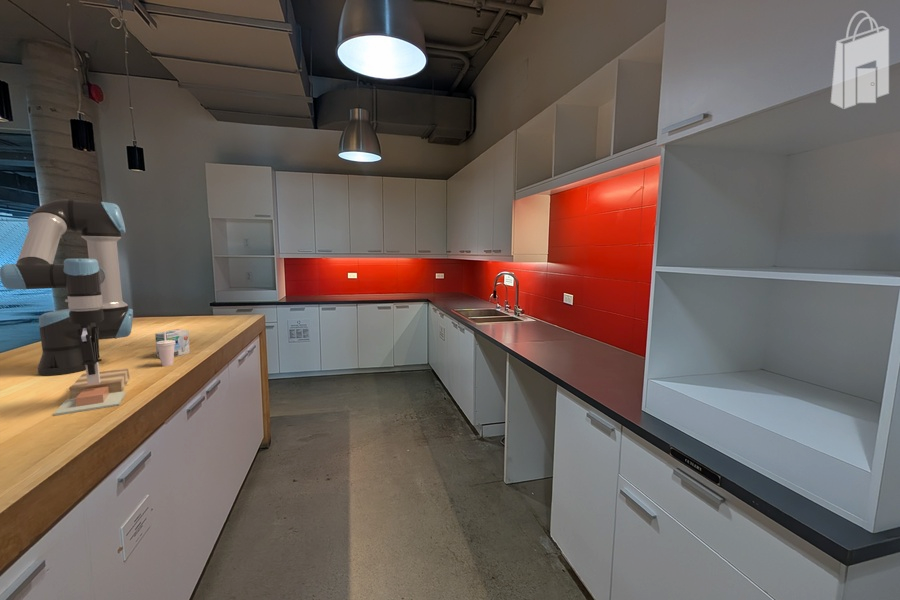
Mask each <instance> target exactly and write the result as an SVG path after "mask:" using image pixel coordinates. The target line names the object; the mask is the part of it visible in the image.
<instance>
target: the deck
mask: <svg viewBox="0 0 900 600" xmlns="http://www.w3.org/2000/svg"><path fill="white" fill-rule="evenodd" d="M99 373H100V383H99V384H92V385H88V384H87V375H86V373H82V374H81V375H80V376H79V378H77V379H76V380H75V382H73V384H72V385H71V386H70V387H69V397H70V399H73V398H76V397H77V396H78V395H79V394H80V392H81V391H82V390H86V389H93V388H101V387H108V389H109V393H115V392H122V391H125V388H126V386H127V384H128V382H129V380H130V370H129V368H120V369H112V370H103V371H99Z"/></svg>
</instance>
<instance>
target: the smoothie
mask: <svg viewBox="0 0 900 600" xmlns="http://www.w3.org/2000/svg"><path fill="white" fill-rule="evenodd" d="M163 332H164V341H159V342H156V341H155V346H157V348H158V352H159V356H160V358H159V360H160V363H161V367H169V366H173V365H174V360H175V359H174V358H175V357H174V345H175V340H166V333H165V332H166V331H163Z"/></svg>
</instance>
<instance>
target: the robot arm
mask: <svg viewBox="0 0 900 600" xmlns="http://www.w3.org/2000/svg"><path fill="white" fill-rule="evenodd" d="M121 211H122V210H121V208H120V206H119V205H117V204H116V203H114V202H106V201H94V200H93V201H91V200H77V199H65V198H64V199H55V200H52V201H48V202H46V203H44V204H42V205H40V206H38V207H37V208H35V209H34V210H33V211H32V212H30V214H29V216H28V219H27V227H28V231H27V234H26V236H25V238H24V241H23V245H22V246H21V247H22V248H21V250H20V252H19V254H18V257H17V261H16V263H9V264H3V265H1V267H0V282H1V284H2V286H3V287H4V288H5V289H8V290H24V291H25V290H36V289H37V290H40V289H42V290H43V289H66V296H67V299H66V298H65V300H64V302H65V303H68V304H67V305H68V308H65V309H64V308H63V309H59V310H53V311H49V312H44V313H43V314H41V315H40V316H39V317H38V328H39V336H40V341H41V349H42V351H41V352H42V354H41V357H40V360H39V362H38V365H37V374H38V375H41V376H57V375H58V376H59V375H67V374H71V373H73V374H74V373H77V372H81V371H85V374H86V375H87V384H88V385H92V384H99V383H100V373H99V372H100V364H99V363H100V362H102V359H101V358H100V343H99V341H101V340H110V339H114V340H117V339H120V338H121V339H122V338H127V337H129V336H130V335H131V334H132V329H133V321H134V319H133V318H134V310H133V308H129V305H128V303H127V302H124V300H123V291H122V283H121V282H122V281H121V272H120V261H119V250H118V241H119V240H121V239H122V234H126V226H125V221H124V217H123V214H122V212H121ZM66 232H78V233H80V237H81V238H82V239H84V240H85V241H86V246H87V254H88V255H87V256H88V258H65V259H64V260H63V263H54V262H55V257H56V254H57V251H58V246H59V243H60V239H61V236H63V235H65V233H66Z"/></svg>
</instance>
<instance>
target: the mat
mask: <svg viewBox="0 0 900 600" xmlns="http://www.w3.org/2000/svg"><path fill="white" fill-rule="evenodd" d="M126 393H127V391H126V390H123V391H122V392H115V393H109V395H108V396H107V398H106V399H105V401H104V402H103V403H97V404H90V405H84V406H77V407H76V399H75V398H73V399H71V398H68V399H65V400H64V401H63V403H62V404H61V405H60V406H59V407H58V408H57V409H56V410H55V411H54V413H53V417H54V416H61V415H67V414H73V413H80V412H87V411H92V410H93V411H94V410H99V409H105V408H112V407H118V406H120V405H121V403H122V401H123V399H124V397H125V395H126Z"/></svg>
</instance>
